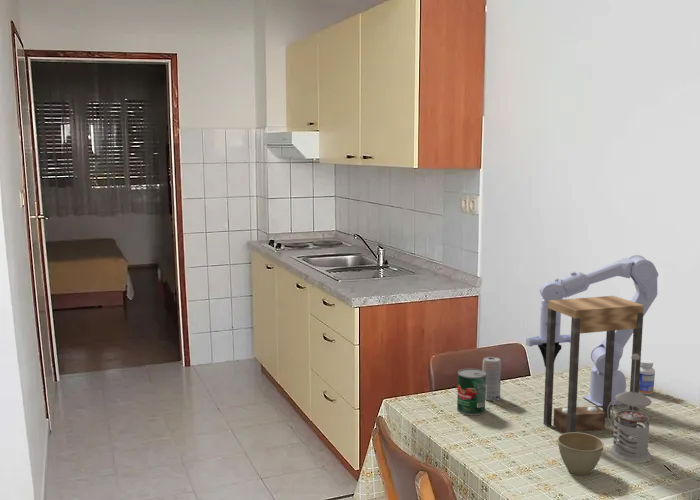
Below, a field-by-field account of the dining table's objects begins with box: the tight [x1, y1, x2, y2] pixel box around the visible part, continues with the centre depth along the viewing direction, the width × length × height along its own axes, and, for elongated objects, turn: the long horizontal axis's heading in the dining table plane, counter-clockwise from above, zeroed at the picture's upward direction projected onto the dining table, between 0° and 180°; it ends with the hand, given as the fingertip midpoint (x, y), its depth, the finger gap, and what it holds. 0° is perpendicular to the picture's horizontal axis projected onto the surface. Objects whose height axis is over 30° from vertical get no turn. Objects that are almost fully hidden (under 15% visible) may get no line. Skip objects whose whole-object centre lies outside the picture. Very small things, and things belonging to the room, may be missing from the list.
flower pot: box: [557, 432, 604, 476], centre depth 157 cm, size 10×10×7 cm
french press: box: [607, 354, 653, 464], centre depth 165 cm, size 10×12×25 cm
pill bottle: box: [639, 358, 656, 396], centre depth 208 cm, size 5×5×10 cm
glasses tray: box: [552, 405, 607, 434], centre depth 181 cm, size 12×5×6 cm, turn 96°
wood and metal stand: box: [543, 295, 644, 433], centre depth 179 cm, size 20×12×34 cm, turn 106°
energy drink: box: [482, 356, 502, 402], centre depth 203 cm, size 5×5×12 cm
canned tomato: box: [456, 368, 486, 416], centre depth 194 cm, size 8×8×11 cm
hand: (548, 367), depth 202 cm, fingers closed
